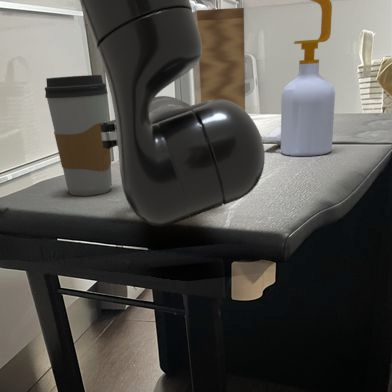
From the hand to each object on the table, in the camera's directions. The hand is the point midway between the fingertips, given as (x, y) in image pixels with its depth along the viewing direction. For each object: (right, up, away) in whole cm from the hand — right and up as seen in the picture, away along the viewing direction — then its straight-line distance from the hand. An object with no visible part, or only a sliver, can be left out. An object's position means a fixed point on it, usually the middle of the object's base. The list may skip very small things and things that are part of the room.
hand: (154, 123), depth 70 cm
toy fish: (+23, +12, +39) cm, 47 cm away
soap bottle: (+25, +7, +30) cm, 40 cm away
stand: (+10, +9, +36) cm, 39 cm away
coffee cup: (-10, -6, +10) cm, 16 cm away
